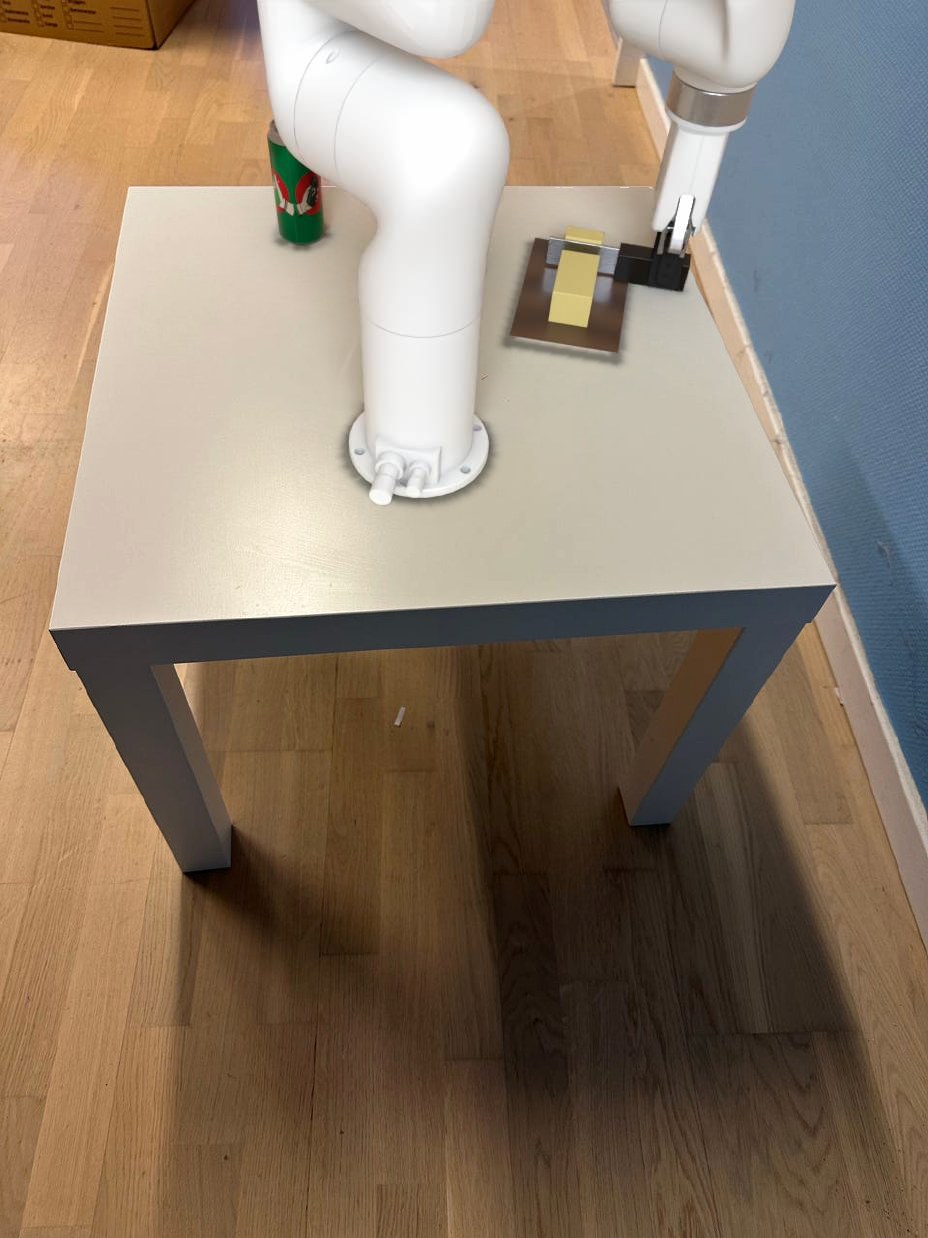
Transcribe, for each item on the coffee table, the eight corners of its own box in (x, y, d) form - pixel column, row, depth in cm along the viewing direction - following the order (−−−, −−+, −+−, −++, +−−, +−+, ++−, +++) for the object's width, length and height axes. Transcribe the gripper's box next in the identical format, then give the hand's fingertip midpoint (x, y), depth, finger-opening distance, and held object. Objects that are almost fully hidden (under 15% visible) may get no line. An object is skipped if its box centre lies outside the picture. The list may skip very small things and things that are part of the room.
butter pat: (596, 271, 97) (602, 241, 94) (560, 265, 97) (564, 235, 94) (598, 261, 98) (604, 231, 95) (562, 255, 98) (567, 225, 96)
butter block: (586, 327, 91) (592, 297, 88) (548, 321, 91) (552, 291, 89) (594, 285, 95) (600, 255, 93) (557, 279, 96) (562, 249, 93)
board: (616, 361, 90) (618, 352, 89) (508, 343, 91) (509, 335, 90) (630, 260, 100) (632, 252, 99) (533, 245, 101) (534, 237, 100)
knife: (544, 268, 96) (548, 242, 94) (547, 256, 98) (551, 230, 95) (682, 291, 95) (690, 266, 93) (683, 278, 97) (691, 253, 94)
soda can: (329, 224, 101) (320, 114, 91) (320, 249, 98) (310, 139, 89) (285, 220, 101) (271, 109, 92) (275, 245, 98) (260, 133, 89)
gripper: (673, 52, 86) (633, 231, 101) (662, 132, 76) (621, 316, 91) (751, 63, 85) (700, 241, 100) (750, 145, 76) (694, 328, 91)
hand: (662, 276), depth 96 cm, fingers closed on knife, 2 cm apart
